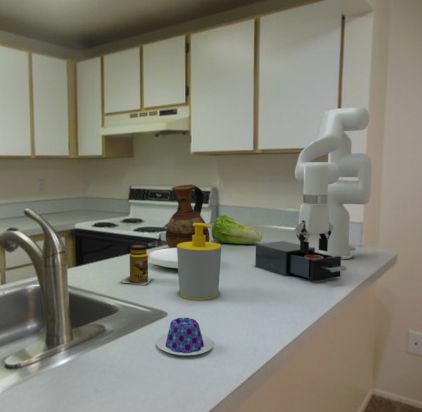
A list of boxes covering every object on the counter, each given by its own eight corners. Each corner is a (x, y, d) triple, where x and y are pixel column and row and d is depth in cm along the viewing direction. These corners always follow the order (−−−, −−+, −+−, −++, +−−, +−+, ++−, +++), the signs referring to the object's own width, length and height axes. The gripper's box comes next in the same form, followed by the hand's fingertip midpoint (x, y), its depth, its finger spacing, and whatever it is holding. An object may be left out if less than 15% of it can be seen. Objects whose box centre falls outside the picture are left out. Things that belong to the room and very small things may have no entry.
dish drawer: (353, 280, 131) (354, 259, 131) (325, 285, 126) (326, 263, 125) (306, 267, 149) (306, 248, 148) (280, 271, 144) (280, 252, 143)
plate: (155, 245, 174) (219, 247, 168) (155, 260, 174) (219, 263, 168) (142, 251, 146) (217, 254, 141) (141, 269, 146) (217, 273, 141)
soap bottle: (210, 303, 113) (210, 227, 111) (169, 296, 120) (168, 224, 118) (227, 291, 124) (228, 222, 122) (188, 285, 131) (188, 219, 129)
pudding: (150, 337, 91) (150, 314, 90) (201, 331, 94) (201, 309, 93) (164, 362, 79) (164, 335, 79) (222, 355, 82) (222, 329, 82)
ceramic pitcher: (156, 249, 188) (156, 184, 185) (186, 243, 202) (186, 183, 199) (188, 256, 174) (188, 185, 171) (218, 249, 187) (218, 184, 184)
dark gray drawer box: (314, 271, 146) (314, 247, 146) (285, 276, 141) (286, 251, 140) (282, 262, 160) (283, 240, 160) (255, 266, 155) (255, 244, 154)
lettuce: (262, 247, 204) (255, 256, 191) (215, 236, 214) (206, 243, 201) (267, 220, 200) (260, 227, 188) (219, 210, 211) (210, 216, 198)
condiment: (145, 285, 131) (145, 248, 130) (120, 283, 134) (120, 247, 133) (152, 279, 138) (151, 244, 137) (128, 277, 141) (128, 243, 140)
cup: (312, 268, 142) (313, 254, 142) (326, 272, 137) (327, 257, 136) (299, 270, 140) (300, 255, 139) (313, 274, 134) (314, 259, 134)
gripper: (324, 198, 143) (323, 247, 145) (287, 200, 136) (285, 252, 137) (343, 199, 136) (341, 251, 138) (304, 202, 129) (303, 256, 130)
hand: (313, 251), depth 137 cm, fingers open, 8 cm apart
